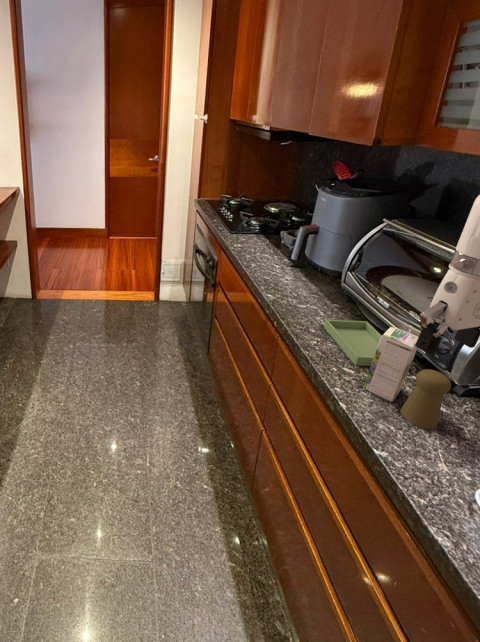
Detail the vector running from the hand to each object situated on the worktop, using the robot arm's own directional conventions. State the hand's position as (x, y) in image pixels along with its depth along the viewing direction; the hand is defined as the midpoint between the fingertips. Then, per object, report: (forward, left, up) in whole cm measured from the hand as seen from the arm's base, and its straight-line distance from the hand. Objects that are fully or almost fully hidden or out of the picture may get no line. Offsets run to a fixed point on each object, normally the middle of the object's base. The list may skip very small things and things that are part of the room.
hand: (444, 347), depth 73 cm
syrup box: (+8, -2, -17) cm, 19 cm away
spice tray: (+20, -15, -17) cm, 30 cm away
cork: (0, 0, -17) cm, 17 cm away
